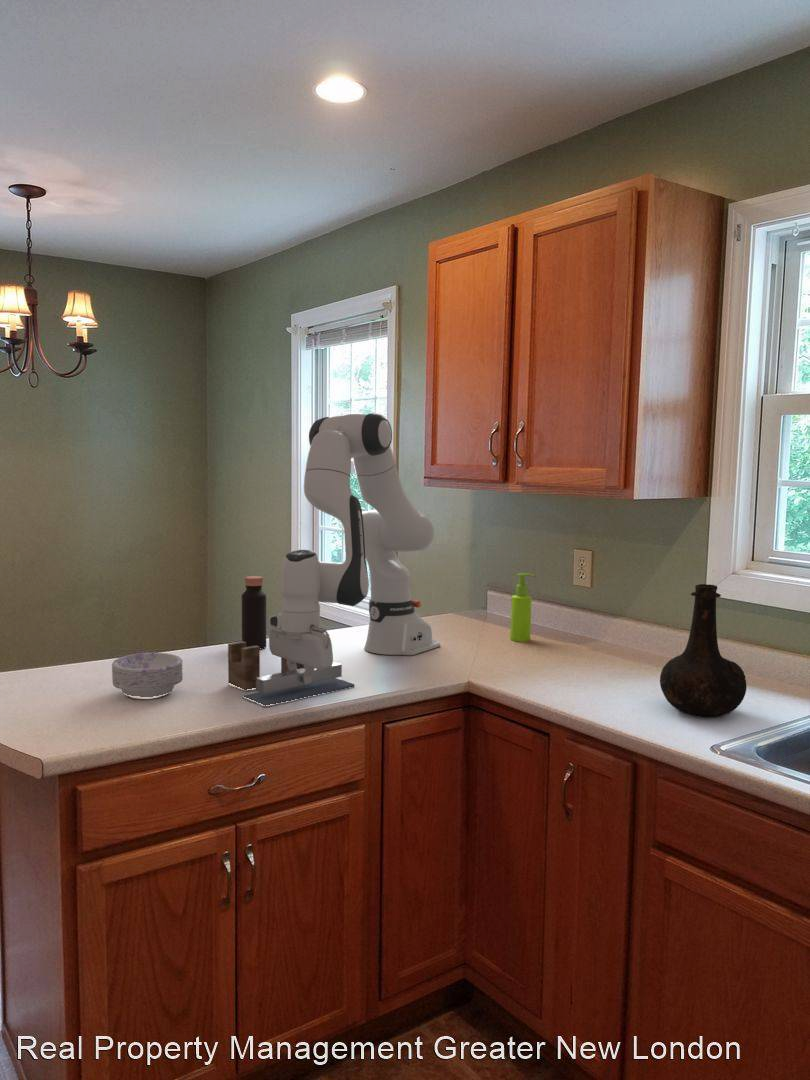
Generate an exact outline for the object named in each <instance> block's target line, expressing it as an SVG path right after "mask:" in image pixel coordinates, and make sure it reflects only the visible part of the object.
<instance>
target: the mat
mask: <svg viewBox="0 0 810 1080" xmlns="http://www.w3.org/2000/svg"><path fill="white" fill-rule="evenodd" d="M354 686H355V687H356V685H355V683H352V682H350V681H346V680H343V679H340V678H338V677H337V678H333V679H328V680H324V681H319V682H315V683H310V684H306V685H301V686H297V687H292V688H288V689H283V690H279V691H274V692H270V693H265V694H262V693H260V692H257V691H256V692H253V693H249V694H244V695H242V697H243V696H244V697H246V698H249V699H251V700H254V701H256V702H258V703H261V704H263V705H265V706H266V705H270V704H276V703H281V702H286V701H291V700H295V699H300V698H304V697H308V696H313V695H317V696H319V695H318V694H321V695H323V694H322V693H326V694H328V693H327V692H330V693H333V692H332V691H334V692H337V691H336V690H339V691H342V690H341V689H343V690H346V689H345V688H347V689H350V688H349V687H351V688H354ZM313 697H314V696H313ZM304 699H305V698H304ZM300 700H301V699H300Z"/></svg>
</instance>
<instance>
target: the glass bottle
mask: <svg viewBox="0 0 810 1080" xmlns="http://www.w3.org/2000/svg"><path fill="white" fill-rule="evenodd" d="M694 587H695V590H694V591H693V592H691V593H690V596H692V597H694V602H693V604H694V605H693V611H692V612H693V613H692V620H691V625H690V630H689V636H688V640H687V644H686V646H685V649H684V650H683V652H682V653H681V654H679V655H677V656H675V657H673V658H671V659H669V661H667V662H666V663H665V665H663V667H662V669H661V672H660V677H659V685H660V689H661V692H662V694H663V696H664V698H665V699H666V701H667V702H668V703H669V704H670V705H671V706H672V707H673V708H675V709H676V710H677V711H678V712H679V711H680V713H682V714H686V715H689V716H691V717H699V718H706V719H707V718H708V719H709V718H710V719H711V718H720V717H724V716H726V715H729V714H730V713H733V712H734V711H735V710H736V709H737V708H738V707H739V706H740V705H741V704H742V703H743V700H744V699H745V696H746V693H747V679H746V675H745V671H744V670H743V669H742V667H741V666H740V665H739V664H737V663H736V662H734V661H732V660H729V659H727V658H724V657H723V656H722V654H721V653H720V649H719V643H718V634H717V598H721V597H722V595H721V594H720V593H718V592H717V590H718V585H715V584H705V583H703V584H695V585H694Z"/></svg>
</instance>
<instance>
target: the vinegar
mask: <svg viewBox="0 0 810 1080" xmlns="http://www.w3.org/2000/svg"><path fill="white" fill-rule="evenodd" d="M263 579H264V577H263V576H260V575H259V576H258V575H251V576H250V575H248V576H245V577H244V586H245V588H246V589H245V591H244V592H243V593H242V594H241V641H244V642H246V647H250V646H259V647H260V648H263V649H265V648H266V647H267V594H266V593H265V592H264V591H263V590H262V589H263V588H262V587H263V584H264V583H263V582H264V581H263ZM264 647H265V648H264Z"/></svg>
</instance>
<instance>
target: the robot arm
mask: <svg viewBox="0 0 810 1080" xmlns="http://www.w3.org/2000/svg"><path fill="white" fill-rule="evenodd" d="M391 426H392V425H391V423H390V421H389V420H388V419H387V418H386V417H385V416H384V415H383V414H379V413H375V412H374V413H373V412H369V413H346V414H342V415H336V416H325V417H321V418H319V419H316V420H315V421H314V422H313V424H311V427H310V429H309V432H308V443H309V450H308V453H307V458H306V462H305V468H304V469H305V470H304V475H303V477H304V478H303V493H304V496H305V498H306V500H307V501H308V503H309V504H311V506H313V507H314V508H316V509H317V510H319V511H321V512H323V513H325V514H327V515H329V516H331V517H333V518H336V519H337V520H338V521H340V523H341V524H342V526H343V530H344V533H343V535H344V546H345V547H344V550H345V560H344V561H343V562H335V561H323V560H319V557H318V554H317V552H316V551H314V550H310V549H297V550H291V551H289V552H288V553H286V554H285V555H284V557H283V562H282V568H281V577H280V578H281V579H280V580H281V581H280V591H281V595H282V603H281V606H280V613H278V614H274V615H270V616H269V617H268V620H267V621H268V625H269V626H270V628H269V631H268V646H269V647H268V648H269V652H270V654H272V656H276V657H279V658H281V657H282V658H285V659H287V666H288V668H289V671H291V670H296V669H297V665H296V663H300V664H303V665H304V669H305V672H304V675H301V679H302V680H301V682H302V683H305V684H308V683H311V675H312V673H313V671H314V669H318V670H324V669H328V668H331V666H332V664H333V662H334V655H333V654H334V653H333V644H332V640H331V637H330V634H329V633H328V632H327V629H326V628H325V627H322V626H320V625H321V606H320V603H328V604H330V603H331V604H339V605H343V606H349V607H355V606H356V605H358V604H360V603H361V602H362V601H363V600H365V599H366V598H367V596H368V594H369V586H370V598H369V602H368V613H369V622H368V630H367V631H368V632H367V637H366V641H365V644H364V648H363V649H364V651H366V652H369V653H373V654H379V655H388V656H389V655H395V656H397V655H398V656H399V655H401V656H414V655H417V654H421V653H423V652H427V651H431V650H432V649H436V648H439V647H441V642H440V641H438V640H436V639H435V638H434V639H433V632H432V627H431V625H430V624H429V623H428V622H427V621H426V620H424V619H423V618H422V617H421V616H420V615H419V614H418V613H417V612H416V610H415V608H417V609H418V608H421V606H422V602H421V600H417V599H414V600H412V599H411V573H410V571H409V569H408V568H407V567H406V566H405V565H403V564H402V563H401V561H400V560H399V558H398V556H397V552H401V553H416V552H417V553H418V552H423V551H426V550H427V549H428V548H429V547H430V546H431V544H432V543H433V540H434V537H435V528H434V525H433V523H432V521H431V519H430V518H429V517H427V515H425V514H423V513H422V512H421V511H419V509H417V508H416V506H415V505H414V504H413V503H412V502H411V500H410V499H409V498H408V496H407V494H406V492H405V491H404V488H403V486H402V485H403V484H402V483H401V479H400V475H399V471H398V468H397V464H396V459H395V456H394V453H393V450H392V446H391V444H392V440H393V430H392V427H391ZM352 463H353V467H354V472H355V476H356V481H357V484H358V488H359V491H360V495H361V497H362V499H363V500H364V502H365V503H366V504H368V505H369V506H371V507H372V508H373V509H372V510H366V511H363V510H362V505H361V501H360V499H359V498H358V497H356V496H355V495H354V494H353V491H352V488H351V474H352V473H351V472H352ZM367 565H368V567H367ZM368 568H369V569H368ZM368 570H369V572H368ZM368 573H369V574H368ZM369 575H370V576H369ZM369 577H370V580H369ZM369 581H370V583H369Z"/></svg>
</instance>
